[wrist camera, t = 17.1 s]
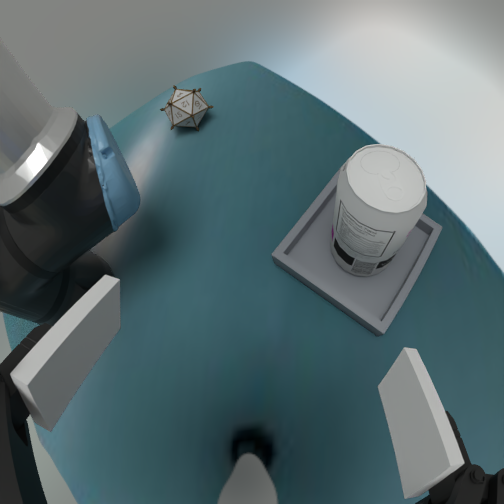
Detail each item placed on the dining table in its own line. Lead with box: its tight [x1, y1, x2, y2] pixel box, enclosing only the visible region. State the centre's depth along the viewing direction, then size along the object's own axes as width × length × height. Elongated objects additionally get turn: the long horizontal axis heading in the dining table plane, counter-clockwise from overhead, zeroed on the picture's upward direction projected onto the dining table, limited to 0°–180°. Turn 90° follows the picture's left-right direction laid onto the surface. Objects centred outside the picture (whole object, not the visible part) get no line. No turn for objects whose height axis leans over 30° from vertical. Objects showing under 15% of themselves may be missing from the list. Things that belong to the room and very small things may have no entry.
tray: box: [271, 165, 442, 336], centre depth 35 cm, size 16×16×3 cm
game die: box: [160, 86, 213, 131], centre depth 47 cm, size 9×8×10 cm
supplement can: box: [330, 144, 427, 277], centre depth 29 cm, size 8×8×15 cm
